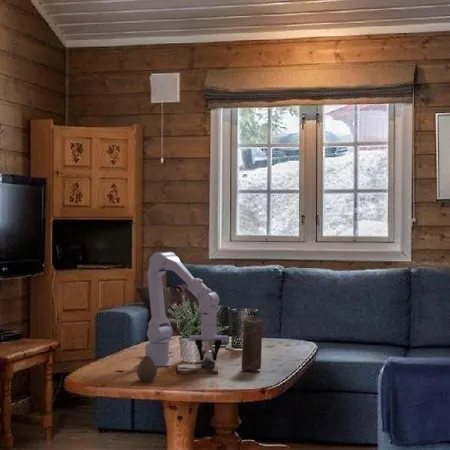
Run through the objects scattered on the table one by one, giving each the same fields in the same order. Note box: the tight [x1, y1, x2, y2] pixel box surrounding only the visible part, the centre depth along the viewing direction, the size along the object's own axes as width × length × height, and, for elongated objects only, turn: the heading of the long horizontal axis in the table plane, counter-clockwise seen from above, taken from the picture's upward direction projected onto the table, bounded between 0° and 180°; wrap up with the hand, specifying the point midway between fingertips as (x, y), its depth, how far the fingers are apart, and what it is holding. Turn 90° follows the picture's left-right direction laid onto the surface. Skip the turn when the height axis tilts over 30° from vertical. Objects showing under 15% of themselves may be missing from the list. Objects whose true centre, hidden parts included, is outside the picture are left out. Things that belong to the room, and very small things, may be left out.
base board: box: [177, 361, 219, 375], centre depth 342 cm, size 15×14×3 cm
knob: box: [201, 349, 215, 363], centre depth 342 cm, size 5×5×5 cm
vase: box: [136, 355, 158, 383], centre depth 320 cm, size 7×7×9 cm
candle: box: [241, 317, 264, 372], centre depth 343 cm, size 8×7×20 cm
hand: (208, 360), depth 342 cm, fingers closed on knob, 5 cm apart
